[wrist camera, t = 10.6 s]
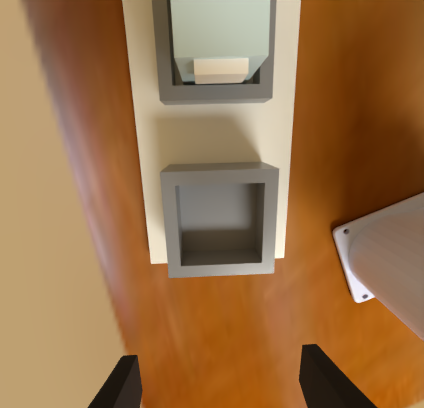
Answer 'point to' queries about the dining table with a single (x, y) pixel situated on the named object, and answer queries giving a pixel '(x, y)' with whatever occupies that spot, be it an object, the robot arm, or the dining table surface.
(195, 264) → the board with square sockets
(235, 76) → the plug
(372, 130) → the dining table surface
